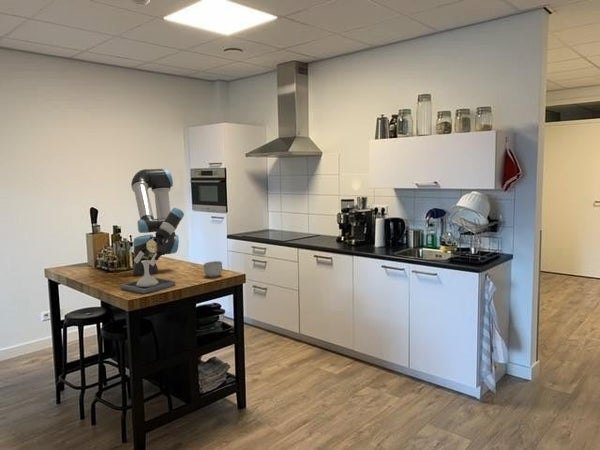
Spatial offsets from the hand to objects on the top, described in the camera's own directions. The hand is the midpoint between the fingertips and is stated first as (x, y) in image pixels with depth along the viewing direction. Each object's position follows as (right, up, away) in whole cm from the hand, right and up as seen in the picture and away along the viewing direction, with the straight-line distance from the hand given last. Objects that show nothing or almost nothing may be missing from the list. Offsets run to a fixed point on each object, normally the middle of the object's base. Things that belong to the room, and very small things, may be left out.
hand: (143, 263), depth 245 cm
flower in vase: (+2, -13, +3) cm, 13 cm away
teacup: (+33, -10, +29) cm, 45 cm away
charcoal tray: (+2, -13, +3) cm, 14 cm away
